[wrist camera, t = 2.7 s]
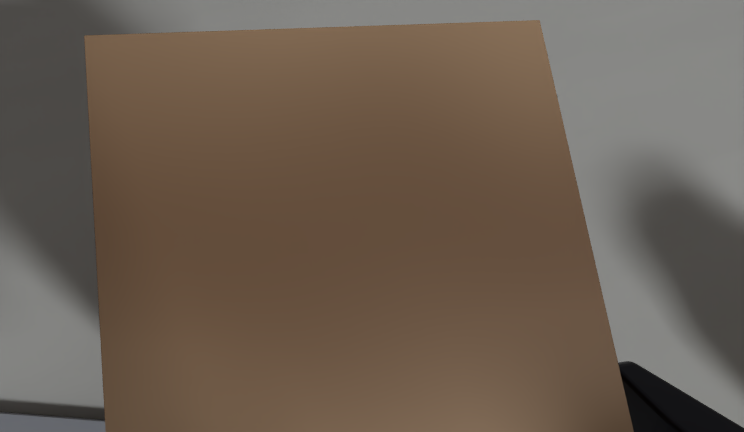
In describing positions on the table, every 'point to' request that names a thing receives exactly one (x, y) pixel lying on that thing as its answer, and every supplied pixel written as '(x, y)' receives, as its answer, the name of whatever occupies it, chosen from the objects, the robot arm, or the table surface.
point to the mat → (48, 423)
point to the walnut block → (343, 234)
